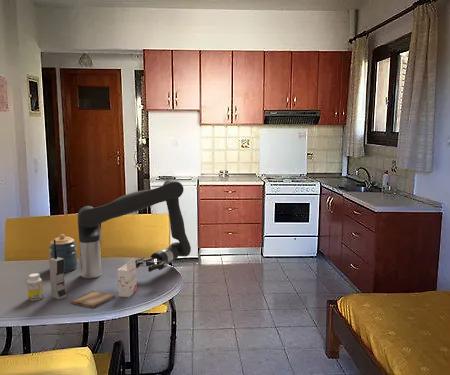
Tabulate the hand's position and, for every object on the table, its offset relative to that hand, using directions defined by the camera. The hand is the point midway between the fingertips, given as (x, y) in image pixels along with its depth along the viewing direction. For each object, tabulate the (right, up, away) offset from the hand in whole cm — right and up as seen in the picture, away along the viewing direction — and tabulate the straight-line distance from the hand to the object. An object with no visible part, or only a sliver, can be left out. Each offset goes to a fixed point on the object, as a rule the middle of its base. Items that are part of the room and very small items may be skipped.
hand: (141, 268), depth 191 cm
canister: (-44, -5, +25) cm, 51 cm away
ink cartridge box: (-4, -9, -7) cm, 13 cm away
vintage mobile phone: (-32, -10, -11) cm, 35 cm away
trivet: (-17, -10, -15) cm, 24 cm away
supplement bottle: (-41, -10, -12) cm, 44 cm away
